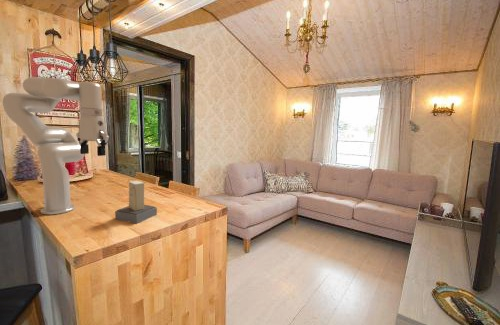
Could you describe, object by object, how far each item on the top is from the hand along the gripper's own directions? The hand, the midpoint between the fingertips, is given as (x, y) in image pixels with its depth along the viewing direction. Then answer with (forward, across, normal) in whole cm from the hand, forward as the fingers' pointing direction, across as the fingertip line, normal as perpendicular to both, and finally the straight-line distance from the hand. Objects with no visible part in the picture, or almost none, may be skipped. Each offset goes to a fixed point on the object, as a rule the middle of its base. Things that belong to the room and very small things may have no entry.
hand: (93, 154), depth 100 cm
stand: (+28, -14, -9) cm, 33 cm away
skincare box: (+24, -14, -9) cm, 30 cm away
